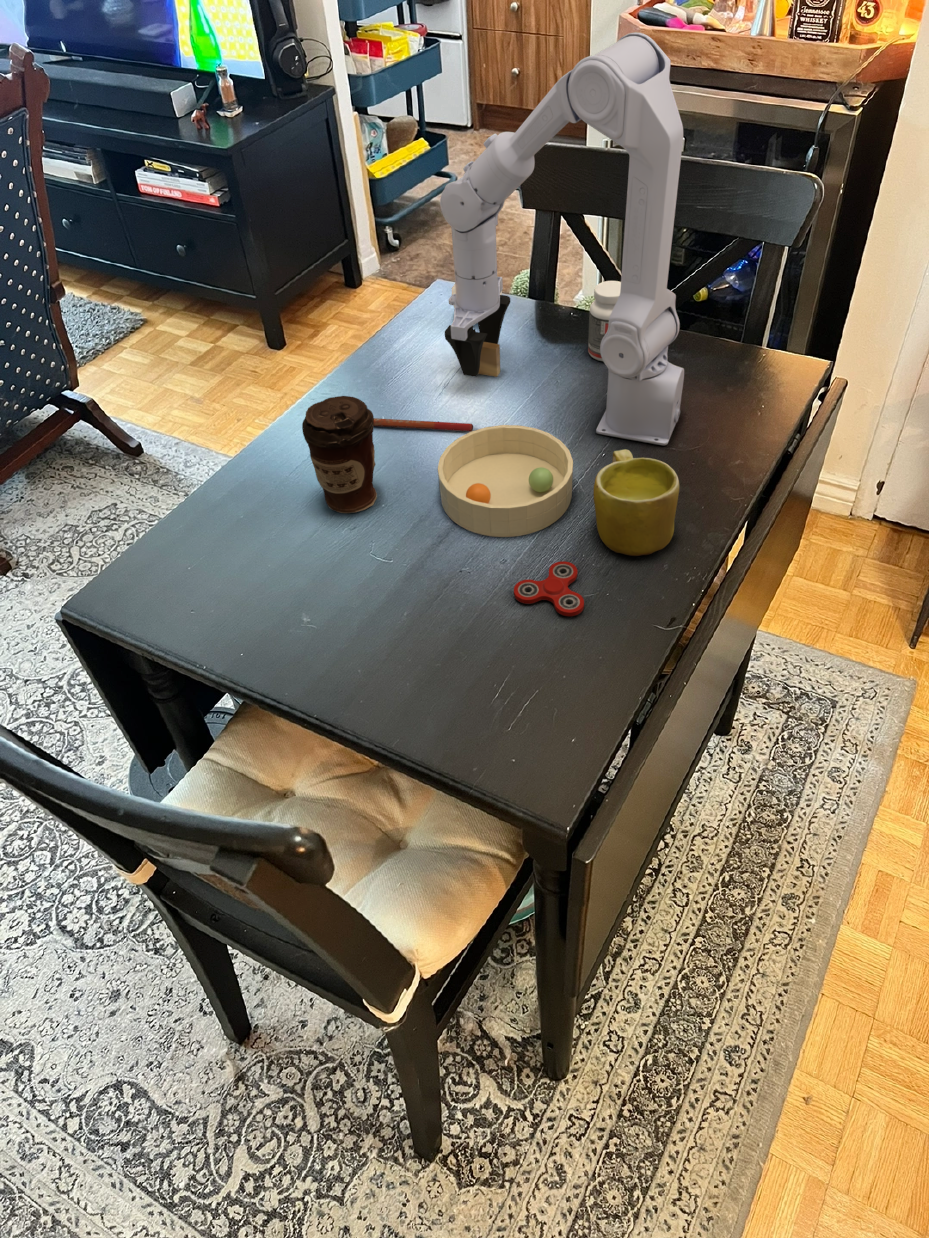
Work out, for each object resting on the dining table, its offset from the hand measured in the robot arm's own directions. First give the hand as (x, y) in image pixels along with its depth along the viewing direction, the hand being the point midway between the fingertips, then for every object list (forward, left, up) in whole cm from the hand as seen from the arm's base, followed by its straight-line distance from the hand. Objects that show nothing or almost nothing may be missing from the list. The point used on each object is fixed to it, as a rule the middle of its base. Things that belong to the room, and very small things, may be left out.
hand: (480, 360), depth 131 cm
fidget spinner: (-24, +39, -2) cm, 46 cm away
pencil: (+5, +16, -2) cm, 17 cm away
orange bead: (-11, +29, 0) cm, 31 cm away
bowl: (-13, +25, -2) cm, 28 cm away
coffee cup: (+5, +32, -2) cm, 32 cm away
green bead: (-17, +24, 0) cm, 29 cm away
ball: (+6, -14, -2) cm, 15 cm away
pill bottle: (-16, -10, -2) cm, 19 cm away
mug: (-29, +26, -2) cm, 39 cm away
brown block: (0, 0, -2) cm, 2 cm away
